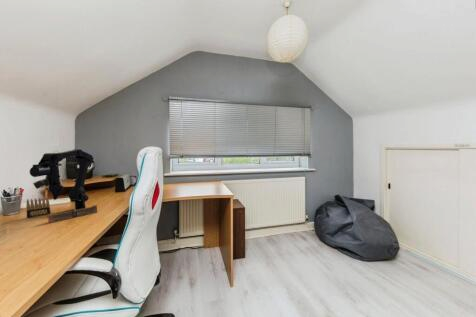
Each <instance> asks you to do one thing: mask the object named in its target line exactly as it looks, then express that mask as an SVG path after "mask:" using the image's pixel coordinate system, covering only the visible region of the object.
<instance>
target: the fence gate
mask: <svg viewBox="0 0 476 317" xmlns="http://www.w3.org/2000/svg"><path fill="white" fill-rule="evenodd" d="M47 217H48V218H47V219H48V224H52V223H55V222H60V221H65V220H69V219H73V215H72V210H69V211H65V212H60V213H56V214H53V213H51V214H47Z"/></svg>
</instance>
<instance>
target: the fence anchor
mask: <svg viewBox="0 0 476 317" xmlns="http://www.w3.org/2000/svg"><path fill="white" fill-rule="evenodd" d="M71 211H72V215H73V218H77V217H82V216H86V215H90V214H95V213H98V205H97V204H96V205H95V204H94V205H91V206H88V207H86V208H83V209H79V210H76V209H75V208H74V209H72V210H71ZM73 218H72V219H73Z"/></svg>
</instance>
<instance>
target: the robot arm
mask: <svg viewBox="0 0 476 317" xmlns="http://www.w3.org/2000/svg"><path fill="white" fill-rule="evenodd" d="M72 157H74V158H75V160H77V165H78V166H79V168H78V172H77V176H76V179H75V182H74V186H73V187H72V188H70V189H69V190H68V191H69V192H68V194H67V196H68V199H69V200H70V202H71V203H74V209H76V210H79V209H83V208H87V207H86V202H88V200H89V199H90V197H89V196H88V195H87V194H86V190H85V188H84V186H85V182H86V179H87V174H88V170H89V167H90V166H91V165H92V164H93V162H94V157H93V155H91V154H90V153H88V152H86V151H84V150H82V149H81V148H80V149H77V148H74V149H72V150H66V151H62V152H49V153H47V152H45V153H43V155H42V157H41V159H40V160H39V162H38V164H32V166H31V167H30V169H29V175H30V176H31V177H33V178H37V177H43V176H45V178H43V179H40V180H38V181H37V180H36V181H35V182H33V183H32V185H33V186H34V187H35V189H37V190H38V189H41V188H42V187H44V186H45V188H46V190H47V191H49V192H50V193H51V196H52V198H53V201H56V200H58V197H59V195H60V193H61V190H64V188H65V187H64V185H63V184H62V183H61V175H60V166H63V164H62V163H60V162H62V161H64V160H65V159H68V158H72Z"/></svg>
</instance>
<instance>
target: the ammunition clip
mask: <svg viewBox="0 0 476 317" xmlns="http://www.w3.org/2000/svg"><path fill="white" fill-rule="evenodd" d="M41 199H42V200H41ZM50 206H51V205H50V200H49V197H48V196H46V199H45V197H44V196H43V197H42V198H40V197H39V198H38V199H37V198H36V197H35V198H34V199H33V198H31V199H30V200H29V199H28V198H27V199H26V206H25V208H26V219H31V218H36V217H42V216H46V215H50V214H52V213H51V212H52V211H51V207H50Z"/></svg>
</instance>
